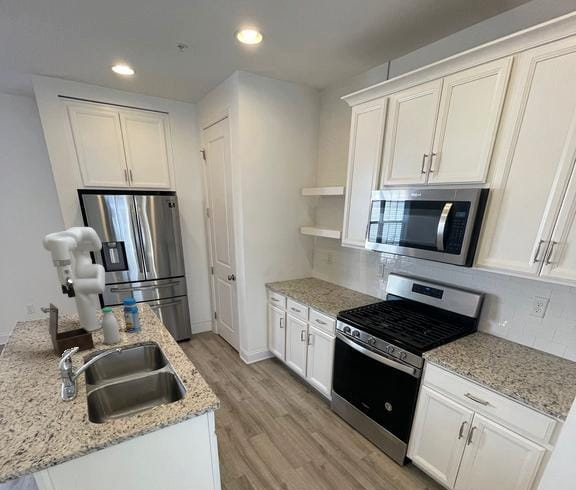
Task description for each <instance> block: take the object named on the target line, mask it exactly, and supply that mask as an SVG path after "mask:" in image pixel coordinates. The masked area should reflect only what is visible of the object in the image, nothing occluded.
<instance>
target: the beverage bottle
mask: <svg viewBox="0 0 576 490" xmlns="http://www.w3.org/2000/svg"><path fill="white" fill-rule="evenodd" d="M122 301H123V317H124V321H125V329H126V332H129V333H134V332H138V331H141V328H142V327H141V321H140V312H139V308H138V306H137V305H136V304H137V301H136V298H134V297H127V298H123V300H122Z"/></svg>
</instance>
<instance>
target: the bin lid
mask: <svg viewBox="0 0 576 490" xmlns="http://www.w3.org/2000/svg"><path fill="white" fill-rule="evenodd" d="M40 311H41V312H43V313H44V314H47V313H49V318H48V319H49V324H48V327H49V328H48V334H49V335H50V337H51V336H52V337H53V338H54V339H55V340H56V341H57V340H58V333H59V308H58V307H57V306H56V305H54V304H53V303H49V307H48V308H47V307H46V308H45V307H40Z"/></svg>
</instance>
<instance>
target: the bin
mask: <svg viewBox="0 0 576 490" xmlns="http://www.w3.org/2000/svg"><path fill="white" fill-rule="evenodd" d="M50 339H51V343H52V347H53V351H55V353H56V354H57V356H59V357H60V358H63V357H62V354H63V353H64V351H65V350H67V349H71V348H74V347H79V350H78V351H77V352H75V353H74V354H78V353H81V352H85V351H89V350H92V349H95V344H94V338H93V333H92V331H88V330H87V329H85V328H84V327H82V328H79V327H78V328H74V329H70V330H63V331H60V332H58V340H57V341H56V340H55V339H54V338H53V337H52V336H51V335H50Z"/></svg>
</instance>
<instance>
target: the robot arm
mask: <svg viewBox="0 0 576 490" xmlns="http://www.w3.org/2000/svg"><path fill="white" fill-rule="evenodd" d="M42 246H43V248H44V249H45V250H46V251H48V252H49V253H50V256H51V261H52V265H53V267H54V268H56V273H57V279H58V281H59V283H60V286H61V291H62V294H63V295H67V297H68V298H69V299H70V298H74V301H75V305H76V306H75V307H76V310H77V314H78V315H77V316H78V319H79V324H80V326H79V327H78V328H82V327H84V328H85V329H87V330H88V331H89V332H95V331H97V330H99V329H101V328H102V319H100V320H99V319H98V315H97V308H96V303H95V300H94V299H93V297H92V296H91V295H101V294H104V293H105V291H106V270H105V267H104V266H103V265H102V264H101V263H93V260H92V258H91V257H90V256H89V255H88V254H87V253H85V252H99V251H101V250H102V247H103V243H102V241H101V238H100V237H99V235H98V233H97V232H96V230H95V229H94V228H93V227H90V226H73V227H72V226H71V227H69V228H67V229H66V230H63V231H58V232H52V233H48V234H47V235H45V236H44V237H43V239H42ZM70 252H71V253H72V255H73V257H74V259H75V263H74V265H75V266H74V272H73V269H72V267H71V266H72V259H71V255H70ZM73 273H74V274H73ZM74 276H75V277H74ZM75 278H76V279H75Z"/></svg>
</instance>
